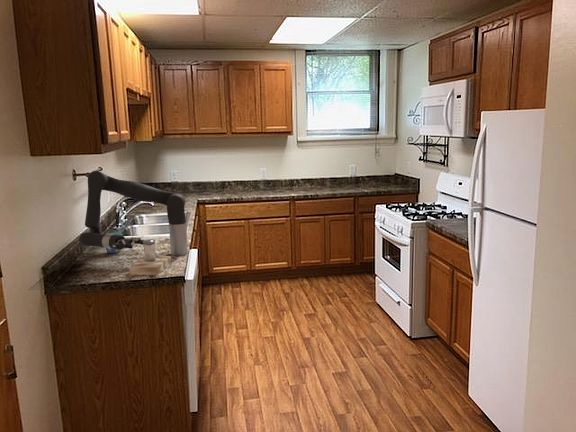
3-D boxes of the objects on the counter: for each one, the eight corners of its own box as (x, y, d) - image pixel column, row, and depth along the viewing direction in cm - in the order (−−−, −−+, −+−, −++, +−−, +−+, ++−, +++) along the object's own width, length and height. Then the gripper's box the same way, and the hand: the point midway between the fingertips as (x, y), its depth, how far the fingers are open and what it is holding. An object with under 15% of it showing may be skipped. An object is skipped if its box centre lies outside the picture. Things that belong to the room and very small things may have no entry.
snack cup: (131, 251, 263) (129, 233, 261) (118, 255, 253) (116, 237, 251) (110, 248, 269) (108, 232, 267) (96, 253, 259) (94, 235, 257)
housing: (146, 258, 229) (145, 239, 227) (158, 258, 228) (156, 239, 227) (142, 262, 223) (140, 242, 221) (153, 262, 223) (152, 242, 221)
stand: (144, 263, 236) (143, 255, 235) (171, 263, 235) (170, 255, 234) (130, 274, 218) (129, 265, 218) (158, 274, 217) (158, 265, 216)
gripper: (102, 237, 227) (127, 240, 220) (123, 231, 240) (147, 234, 233) (103, 252, 228) (128, 255, 222) (124, 245, 241) (148, 248, 234)
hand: (138, 244), depth 227 cm, fingers open, 8 cm apart
